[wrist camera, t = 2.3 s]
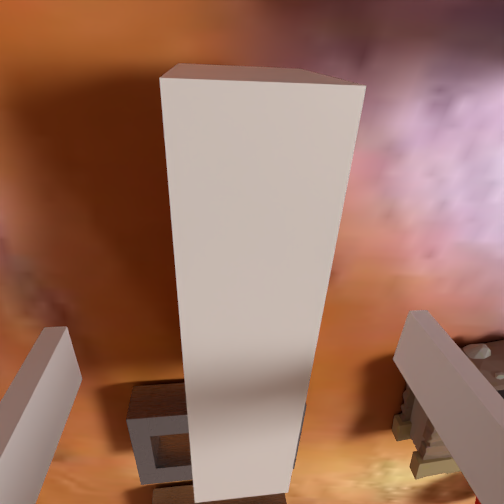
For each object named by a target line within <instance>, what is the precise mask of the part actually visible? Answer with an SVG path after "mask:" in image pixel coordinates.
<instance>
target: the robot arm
mask: <svg viewBox="0 0 504 504" xmlns="http://www.w3.org/2000/svg"><path fill="white" fill-rule="evenodd" d="M393 361H394V362H395V364H396V366H397V367H398V369H399V370H400V372H401V374H402V375H403V377H404V379H405V380H406V382H407V384H408V385H409V387H410V388H411V390H412V392H413V393H414V395H415V397H416V398H417V400H418V402H419V403H420V405H421V406H422V408H423V410H424V411H425V413H426V415H427V416H428V418H429V419H430V421H431V423H432V424H433V426H434V428H435V429H436V431H437V433H438V434H439V436H440V437H441V439H442V441H443V442H444V444H445V446H446V447H447V449H448V451H449V452H450V454H451V455H452V457H453V459H454V460H455V462H456V464H457V465H458V467H459V468H460V470H461V472H462V473H463V475H464V477H465V478H466V480H467V482H468V483H469V485H470V486H471V488H472V490H473V491H474V493H475V495H476V496H477V498H478V500H479V501H480V503H481V504H504V390H495V388H494V387H493V386H492V385H491V384H490V383H489V382H488V380H487V379H486V378H485V377H484V376H483V375H482V373H481V372H480V371H479V370H478V369H477V368H476V366H475V365H474V364H473V363H472V362H471V361H470V360H469V358H468V357H467V356H466V355H465V354H464V353H463V351H462V350H461V349H460V348H459V347H458V346H457V344H456V343H455V342H454V341H453V340H452V339H451V337H450V336H449V335H448V334H447V333H446V332H445V331H444V329H443V328H442V327H441V326H440V325H439V324H438V322H437V321H436V320H435V319H434V318H433V317H432V315H431V314H430V313H429V312H428V311H427V310H417V311H409V313H408V316H407V319H406V322H405V325H404V328H403V331H402V334H401V337H400V340H399V343H398V346H397V348H396V351H395V354H394V357H393ZM81 381H82V376H81V373H80V369H79V366H78V362H77V359H76V356H75V352H74V349H73V345H72V342H71V339H70V335H69V332H68V328H67V326H64V327H44V329H43V330H42V332H41V334H40V335H39V337H38V339H37V341H36V342H35V344H34V346H33V347H32V349H31V351H30V352H29V354H28V356H27V358H26V359H25V361H24V363H23V364H22V366H21V368H20V370H19V371H18V373H17V375H16V376H15V378H14V380H13V381H12V383H11V385H10V387H9V388H8V390H7V392H6V393H5V395H4V397H3V398H2V400H1V402H0V504H35V503H36V501H37V498H38V495H39V493H40V490H41V487H42V485H43V482H44V479H45V477H46V474H47V472H48V469H49V466H50V464H51V461H52V458H53V456H54V453H55V450H56V448H57V445H58V442H59V440H60V437H61V434H62V432H63V429H64V426H65V424H66V421H67V418H68V416H69V413H70V411H71V408H72V405H73V403H74V400H75V397H76V395H77V392H78V389H79V387H80V384H81Z"/></svg>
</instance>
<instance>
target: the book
mask: <svg viewBox="0 0 504 504" xmlns="http://www.w3.org/2000/svg"><path fill="white" fill-rule="evenodd" d="M460 349H461V350H462V351H463V353H464V354H465V355H466V356H467V357H468V358H469V360H470V361H471V362H472V363H473V364H474V365H475V366H476V368H477V369H478V370H479V371H480V372H481V373H482V375H483V376H484V377H485V378H486V379H487V380H488V382H489V383H490V384H491V385H492V386H493V387H494V388H495V390H504V340H500V341H495V342H490V343H485V344H483V343H481V344H469V345H467V346H465V347H463V348H460ZM406 384H407V383H406ZM403 399H404V404H402V405H401V410H402V412H403V413H401V414H399V415H394V420H393V426H392V432H393V434H394V436H395V439H396V441H401V440H406V439H412V440H413V443H414V445H415V447H416V449H417V451H414V452H413V455H412V459H411V463H410V469H411V471H412V473H413V475H414V477H415V479H419V478H423V477H426V476H431V475H437V474H442V473H446V474H448V473H453V472H459V471H461V470H460V468H459V467H458V465H457V464H456V462H455V460H454V459H453V457H452V455H451V454H450V452H449V451H448V449H447V447H446V446H445V444H444V442H443V441H442V439H441V437H440V436H439V434H438V433H437V431H436V429H435V428H434V426H433V424H432V423H431V421H430V419H429V418H428V416H427V415H426V413H425V411H424V410H423V408H422V406H421V405H420V403H419V402H418V400H417V398H416V397H415V395H414V393H413V392H412V390H411V388H410V387H409V385H408V384H407V390H406V391H405V392H403Z"/></svg>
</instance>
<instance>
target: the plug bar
mask: <svg viewBox="0 0 504 504" xmlns="http://www.w3.org/2000/svg"><path fill="white" fill-rule="evenodd" d="M159 79H160V91H161V103H162V115H163V127H164V139H165V151H166V163H167V175H168V187H169V199H170V211H171V223H172V235H173V247H174V259H175V271H176V283H177V295H178V307H179V319H180V331H181V343H182V355H183V367H184V379H185V391H186V403H187V415H188V427H189V439H190V451H191V463H192V475H193V488H194V500H195V503H199V502H208V501H217V500H226V499H234V498H243V497H252V496H261V495H270V494H279V493H288V490H289V485H290V480H291V474H292V469H293V464H294V459H295V454H296V449H297V443H298V438H299V433H300V428H301V423H302V417H303V412H304V407H305V402H306V397H307V391H308V386H309V381H310V376H311V371H312V366H313V360H314V355H315V350H316V345H317V340H318V334H319V329H320V324H321V319H322V314H323V309H324V303H325V298H326V293H327V288H328V283H329V277H330V272H331V267H332V262H333V257H334V252H335V246H336V241H337V236H338V231H339V226H340V220H341V215H342V210H343V205H344V200H345V194H346V189H347V184H348V179H349V174H350V169H351V163H352V158H353V153H354V148H355V143H356V137H357V132H358V127H359V122H360V117H361V112H362V106H363V101H364V96H365V91H366V85H362V84H358V83H354V82H350V81H346V80H342V79H338V78H334V77H331V76H327V75H323V74H319V73H315V72H311V71H307V70H303V69H298V68H276V67H253V66H230V65H207V64H184V63H178V64H177V65H175V66H174V67H173V68H171V69H170V70H169V71H168V72H166V73H165V74H164V75H162V76H161V77H160V78H159Z"/></svg>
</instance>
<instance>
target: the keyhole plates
mask: <svg viewBox="0 0 504 504" xmlns="http://www.w3.org/2000/svg"><path fill="white" fill-rule="evenodd" d="M305 410H306V402H305V407H304V412H303V417H302V423H301V428H300V433H299V438H298V443H297V449H296V454H295V459H294V464H293V469H294V466H295V461H296V456H297V451H298V446H299V441H300V436H301V431H302V426H303V421H304V416H305ZM126 421H127V426H128V430H129V434H130V438H131V443H132V447H133V451H134V456H135V460H136V464H137V469H138V473H139V477H140V482H141V485H144V484H153V483H163V482H172V481H182V480H192V479H193V475H192V463H191V451H190V439H189V427H188V415H187V403H186V391H185V383H175V384H160V385H146V386H133V389H132V394H131V398H130V403H129V408H128V413H127V418H126ZM152 504H286V498H285V493H279V494H270V495H261V496H252V497H243V498H234V499H226V500H217V501H208V502H199V503H195V500H194V488H193V485H186V486H176V487H167V488H158V489H153V498H152Z"/></svg>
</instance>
